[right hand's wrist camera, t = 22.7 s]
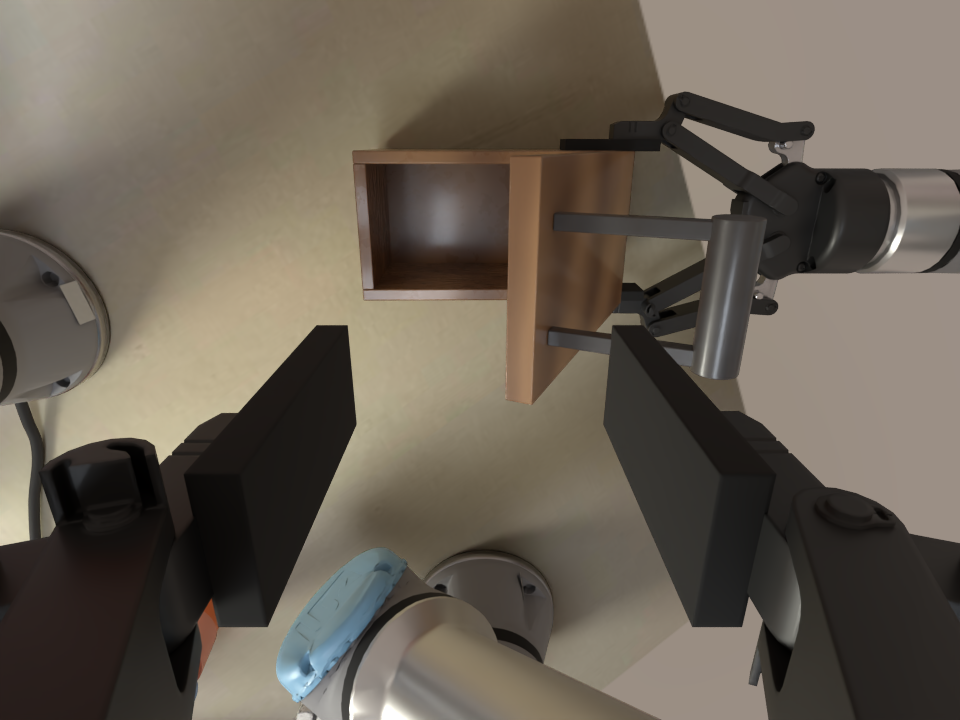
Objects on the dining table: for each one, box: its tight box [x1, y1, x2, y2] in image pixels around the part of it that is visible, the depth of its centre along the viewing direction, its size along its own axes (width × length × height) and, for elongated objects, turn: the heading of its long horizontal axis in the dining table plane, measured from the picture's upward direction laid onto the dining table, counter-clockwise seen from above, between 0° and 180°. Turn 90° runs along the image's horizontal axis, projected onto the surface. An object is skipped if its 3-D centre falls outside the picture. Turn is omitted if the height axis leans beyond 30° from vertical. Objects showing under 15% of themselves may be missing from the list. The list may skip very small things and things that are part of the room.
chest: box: [352, 149, 609, 300], centre depth 42 cm, size 17×10×10 cm, turn 90°
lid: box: [505, 151, 767, 405], centre depth 28 cm, size 18×10×9 cm
